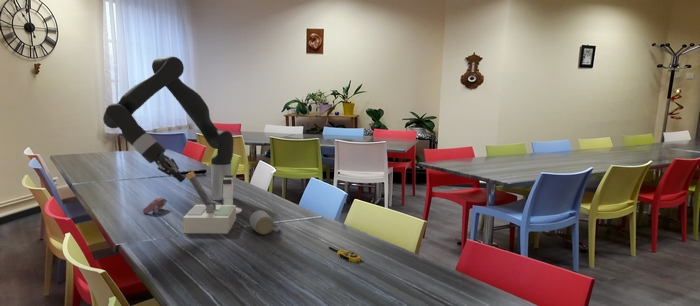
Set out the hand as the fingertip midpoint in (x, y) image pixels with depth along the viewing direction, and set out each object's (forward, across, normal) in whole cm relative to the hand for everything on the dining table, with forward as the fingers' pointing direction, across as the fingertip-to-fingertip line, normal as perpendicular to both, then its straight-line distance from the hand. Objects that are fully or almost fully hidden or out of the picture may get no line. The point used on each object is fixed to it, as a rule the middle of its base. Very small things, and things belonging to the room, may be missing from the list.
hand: (183, 180), depth 166 cm
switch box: (+20, 0, +5) cm, 21 cm away
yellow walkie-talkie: (+55, -30, -29) cm, 69 cm away
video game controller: (+1, +20, +25) cm, 32 cm away
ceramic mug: (+35, -6, -10) cm, 37 cm away
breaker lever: (+15, 0, 0) cm, 15 cm away
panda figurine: (+22, +21, +4) cm, 31 cm away
